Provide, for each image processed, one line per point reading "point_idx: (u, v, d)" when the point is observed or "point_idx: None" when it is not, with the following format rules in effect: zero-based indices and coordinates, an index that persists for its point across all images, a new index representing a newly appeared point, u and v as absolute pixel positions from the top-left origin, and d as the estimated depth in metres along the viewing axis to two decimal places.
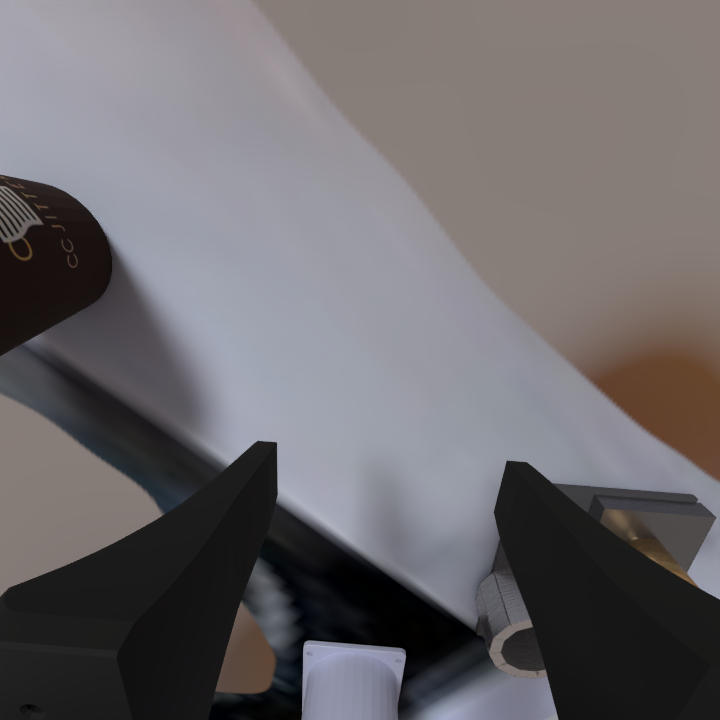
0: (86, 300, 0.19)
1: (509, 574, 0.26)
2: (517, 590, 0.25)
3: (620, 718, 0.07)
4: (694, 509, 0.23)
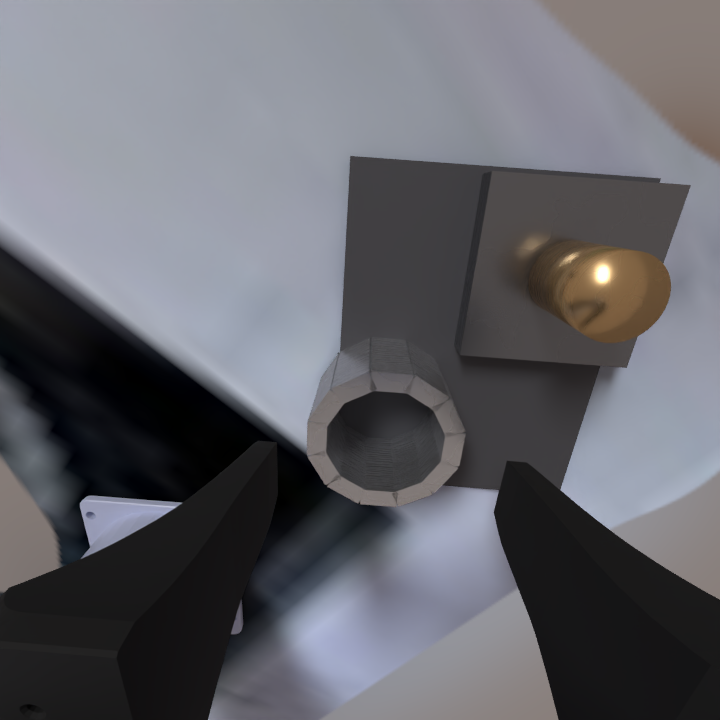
0: None
1: (359, 346, 0.16)
2: (361, 355, 0.15)
3: (620, 718, 0.07)
4: None
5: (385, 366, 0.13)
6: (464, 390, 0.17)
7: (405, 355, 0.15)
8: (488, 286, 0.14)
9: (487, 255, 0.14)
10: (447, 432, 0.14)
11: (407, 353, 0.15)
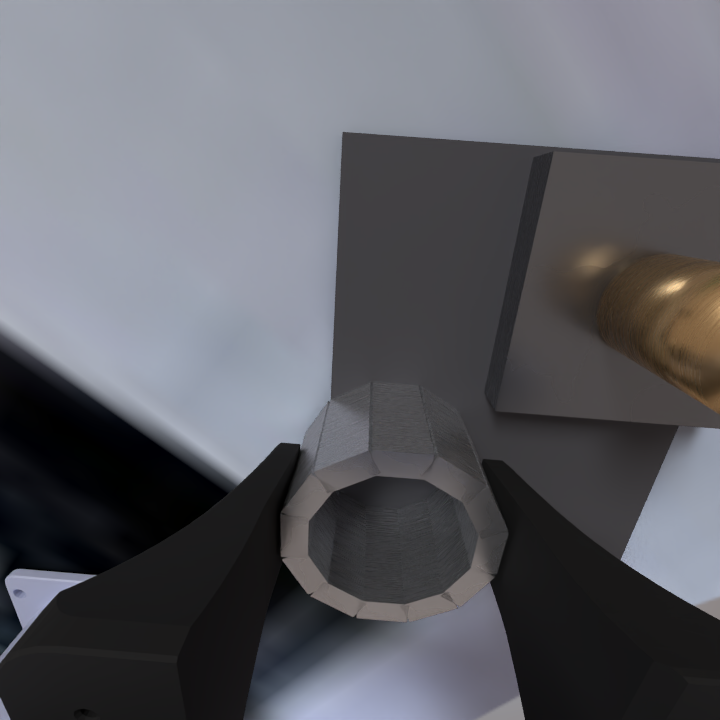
0: None
1: (356, 395, 0.12)
2: (357, 414, 0.11)
3: (576, 714, 0.07)
4: None
5: (392, 438, 0.09)
6: (496, 449, 0.13)
7: (420, 414, 0.10)
8: (539, 318, 0.10)
9: (540, 275, 0.10)
10: (481, 531, 0.10)
11: (422, 410, 0.11)
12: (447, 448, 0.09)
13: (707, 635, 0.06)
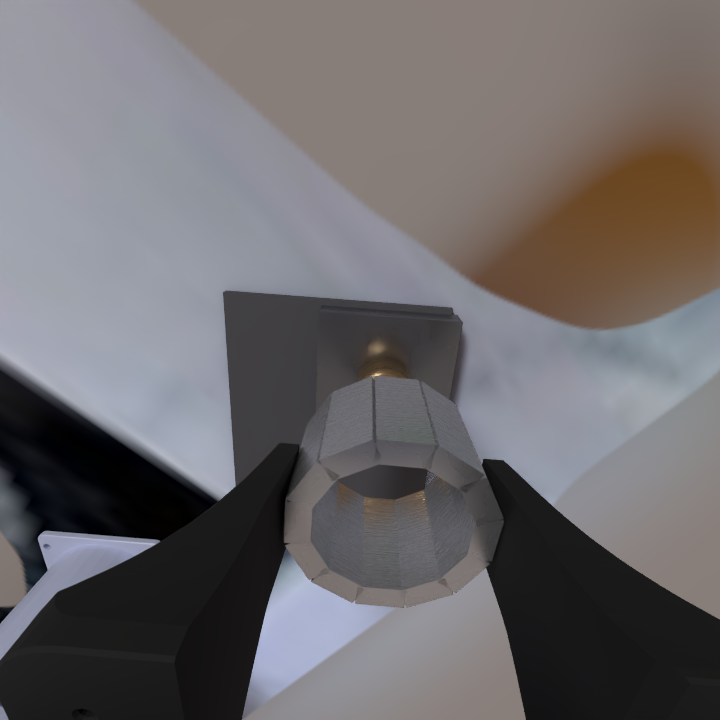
0: None
1: (358, 388, 0.12)
2: (360, 405, 0.11)
3: (577, 714, 0.07)
4: (441, 317, 0.18)
5: (395, 428, 0.10)
6: None
7: (421, 407, 0.11)
8: (328, 387, 0.19)
9: (324, 366, 0.19)
10: (478, 519, 0.10)
11: (423, 403, 0.11)
12: (447, 439, 0.10)
13: (707, 635, 0.06)
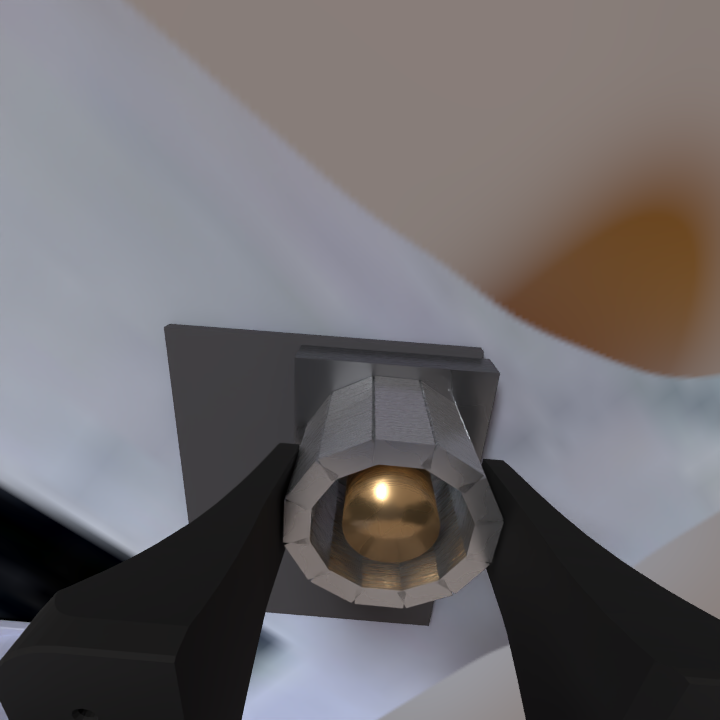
0: None
1: (358, 388, 0.12)
2: (360, 405, 0.11)
3: (577, 714, 0.07)
4: (468, 364, 0.13)
5: (394, 428, 0.10)
6: None
7: (420, 407, 0.11)
8: None
9: (304, 430, 0.13)
10: (478, 520, 0.10)
11: (423, 403, 0.11)
12: (447, 439, 0.10)
13: (708, 636, 0.06)
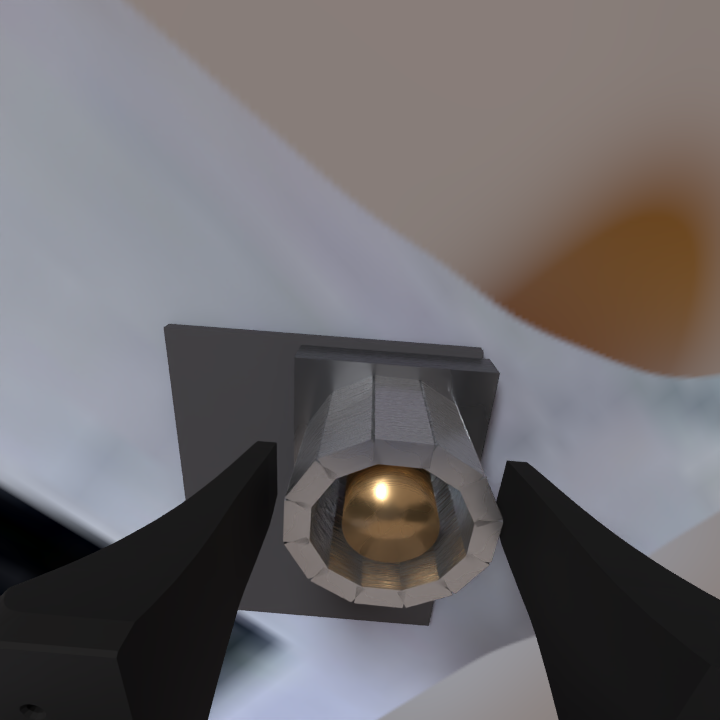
0: None
1: (358, 388, 0.12)
2: (360, 405, 0.11)
3: (620, 718, 0.07)
4: (468, 364, 0.13)
5: (394, 428, 0.10)
6: None
7: (420, 407, 0.11)
8: None
9: (304, 430, 0.13)
10: (477, 520, 0.10)
11: (423, 403, 0.11)
12: (446, 439, 0.10)
13: None
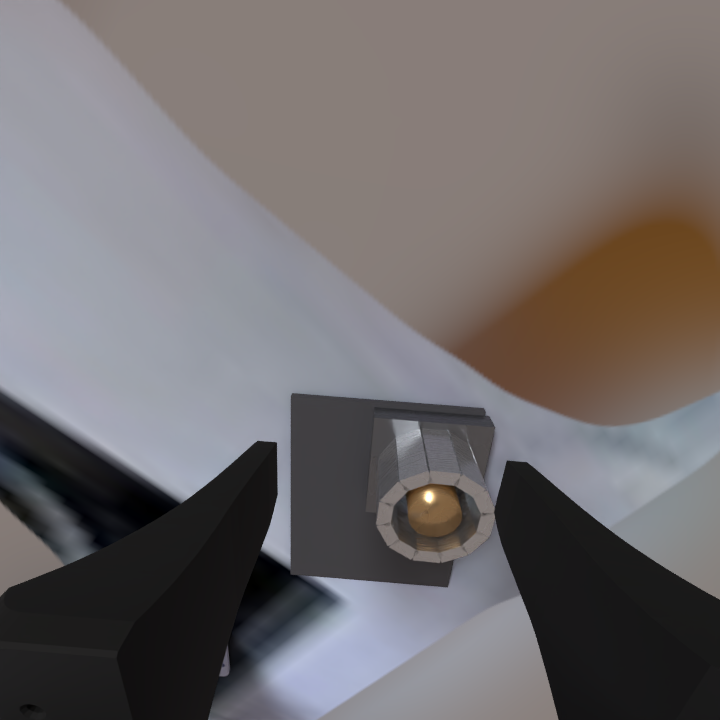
0: None
1: (412, 436, 0.21)
2: (416, 449, 0.20)
3: (620, 718, 0.07)
4: (476, 420, 0.21)
5: (438, 464, 0.18)
6: (375, 523, 0.25)
7: (450, 450, 0.19)
8: None
9: (376, 459, 0.22)
10: (482, 513, 0.19)
11: (451, 447, 0.20)
12: (466, 469, 0.18)
13: None
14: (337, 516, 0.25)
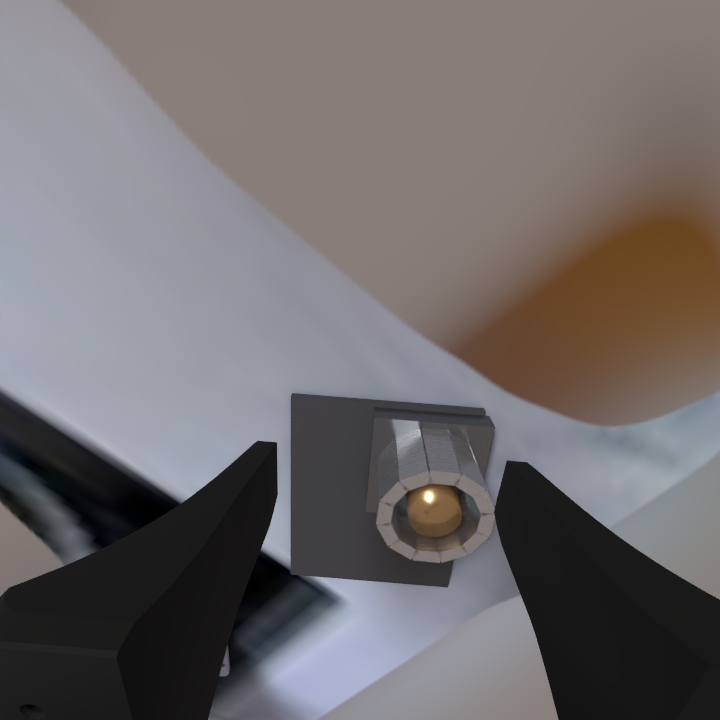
0: None
1: (412, 436, 0.21)
2: (416, 449, 0.20)
3: (620, 718, 0.07)
4: (476, 420, 0.21)
5: (438, 464, 0.18)
6: (375, 523, 0.25)
7: (450, 450, 0.19)
8: None
9: (376, 459, 0.22)
10: (482, 513, 0.19)
11: (451, 447, 0.20)
12: (466, 469, 0.18)
13: None
14: (337, 516, 0.25)
